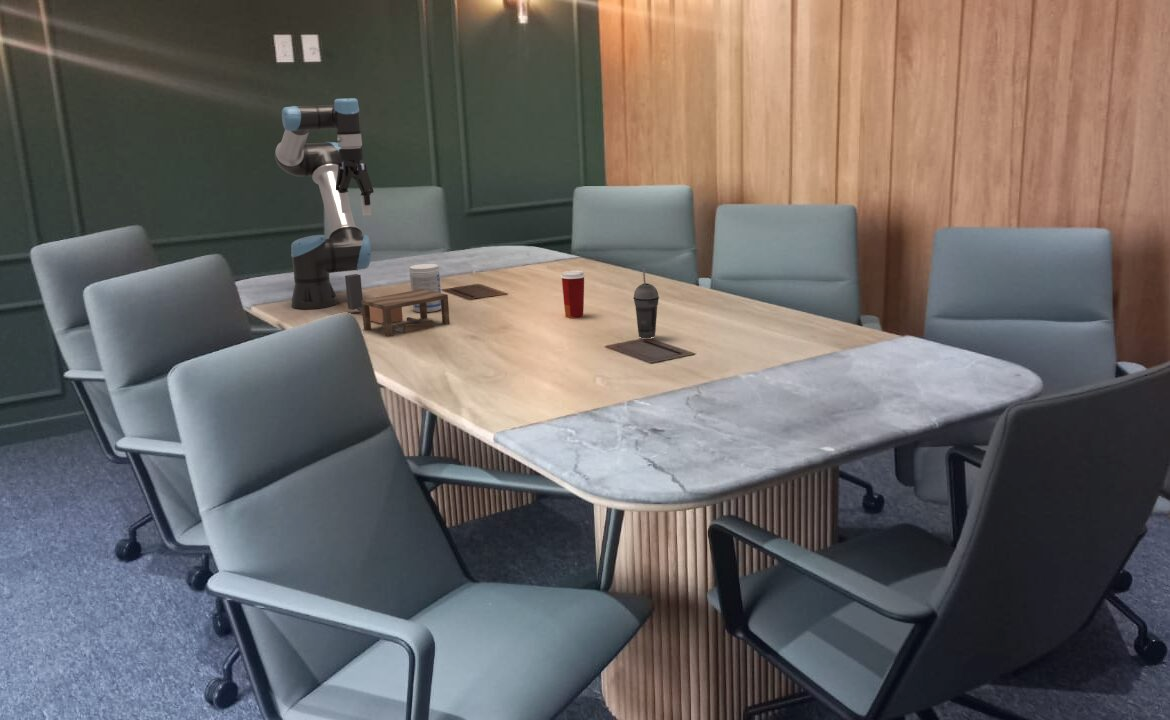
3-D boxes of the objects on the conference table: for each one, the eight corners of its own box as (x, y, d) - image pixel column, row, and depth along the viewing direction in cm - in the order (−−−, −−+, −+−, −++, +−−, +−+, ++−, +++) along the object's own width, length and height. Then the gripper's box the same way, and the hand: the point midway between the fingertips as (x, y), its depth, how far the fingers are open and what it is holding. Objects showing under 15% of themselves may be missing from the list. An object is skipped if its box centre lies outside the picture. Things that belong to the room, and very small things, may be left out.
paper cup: (590, 314, 320) (589, 270, 316) (580, 319, 313) (578, 275, 309) (568, 313, 323) (566, 269, 319) (557, 318, 316) (555, 273, 313)
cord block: (344, 313, 333) (340, 276, 330) (363, 309, 337) (359, 273, 334) (383, 324, 315) (380, 285, 312) (402, 320, 320) (399, 281, 316)
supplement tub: (446, 310, 333) (443, 266, 329) (420, 314, 328) (417, 269, 324) (434, 305, 341) (431, 262, 337) (408, 309, 336) (404, 265, 332)
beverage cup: (642, 341, 283) (641, 271, 278) (629, 336, 290) (627, 267, 285) (664, 338, 287) (663, 268, 281) (651, 333, 293) (650, 264, 288)
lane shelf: (363, 329, 310) (361, 300, 307) (424, 317, 324) (422, 289, 321) (388, 336, 299) (385, 306, 297) (449, 323, 314) (447, 294, 311)
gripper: (321, 147, 332) (327, 212, 338) (359, 149, 314) (365, 217, 320) (341, 146, 337) (347, 210, 343) (380, 147, 319) (386, 215, 325)
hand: (356, 214), depth 331 cm, fingers open, 13 cm apart
